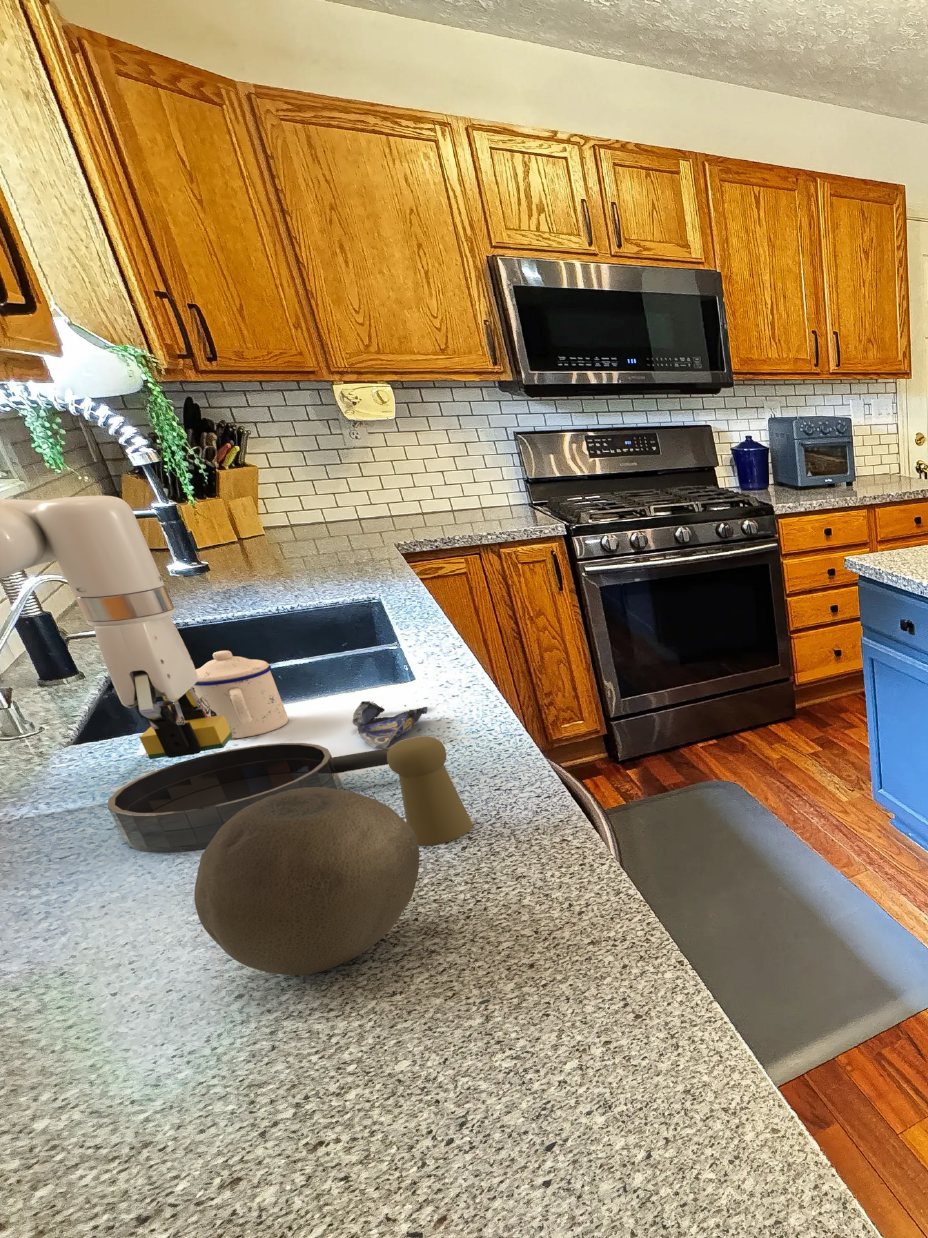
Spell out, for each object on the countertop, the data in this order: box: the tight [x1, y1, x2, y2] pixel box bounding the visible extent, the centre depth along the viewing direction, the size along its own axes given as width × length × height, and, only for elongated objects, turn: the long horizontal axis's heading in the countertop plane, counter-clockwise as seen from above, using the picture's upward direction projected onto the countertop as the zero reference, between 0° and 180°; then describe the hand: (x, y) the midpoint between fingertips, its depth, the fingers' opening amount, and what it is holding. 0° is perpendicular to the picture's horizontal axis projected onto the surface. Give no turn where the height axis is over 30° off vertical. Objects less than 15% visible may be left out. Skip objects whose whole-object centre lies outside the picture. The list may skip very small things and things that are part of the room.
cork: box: [387, 735, 474, 847], centre depth 87 cm, size 6×6×11 cm
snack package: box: [351, 700, 428, 749], centre depth 115 cm, size 12×6×12 cm
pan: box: [107, 742, 343, 853], centre depth 93 cm, size 19×19×4 cm
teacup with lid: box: [192, 650, 289, 740], centre depth 115 cm, size 12×9×12 cm
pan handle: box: [329, 747, 390, 774], centre depth 99 cm, size 12×2×2 cm, turn 119°
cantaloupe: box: [193, 787, 420, 976], centre depth 67 cm, size 14×14×15 cm
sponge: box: [139, 715, 233, 760], centre depth 101 cm, size 7×4×3 cm, turn 119°
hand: (191, 746), depth 102 cm, fingers closed on sponge, 4 cm apart
